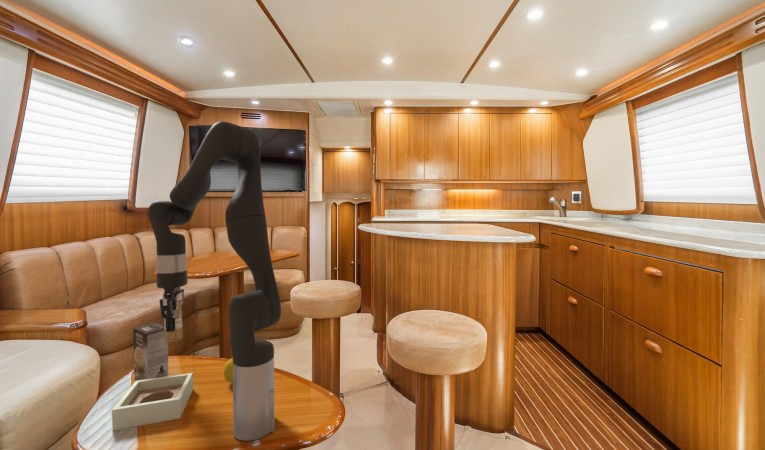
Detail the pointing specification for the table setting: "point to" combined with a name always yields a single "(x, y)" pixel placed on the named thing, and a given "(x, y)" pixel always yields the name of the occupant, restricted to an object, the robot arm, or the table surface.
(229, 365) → the lemon
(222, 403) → the table surface
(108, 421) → the table surface
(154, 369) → the coffee box
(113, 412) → the peg box
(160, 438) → the table surface
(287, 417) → the table surface
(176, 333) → the sprinkles bottle
